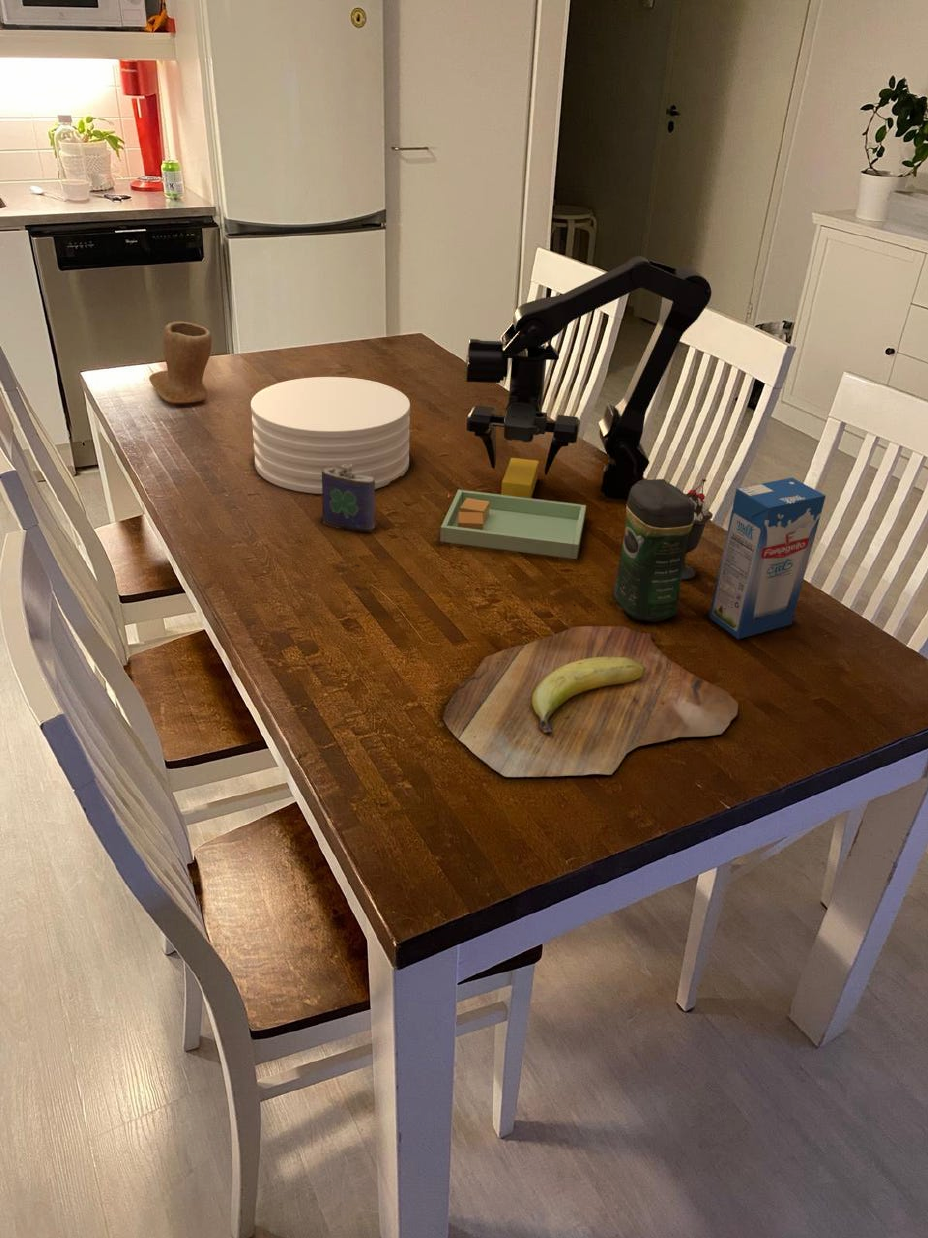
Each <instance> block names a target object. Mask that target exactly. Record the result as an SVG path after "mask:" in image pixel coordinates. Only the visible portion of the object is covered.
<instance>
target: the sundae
mask: <svg viewBox="0 0 928 1238" xmlns="http://www.w3.org/2000/svg"><path fill="white" fill-rule="evenodd" d="M706 481H707V479H706V478H702V479H701V482H700V484H699V486H697V487H696V488H695V489H690V490H689V491H688V492H687V493H685V494H686V495H687V496H688V497H689V498H690V499H691V500H692V501H693V502H694V503H695V512H694V523H693V526H692V529H691V531H690V533H689V536H688V540H687V545H686V551H685V557H684V563H683V569H682V576H681V581H682V580H683V581H684V580H690V579H692V578H694V577H695V576H696V571H695V569H694V568H693V567H691V566H690V565H687V564H686V556H687V554H688V553H691V552H693V551H694V550H696V549H697V547H698V545H699V543H700V541H701V538H702V535H703V532H704V531H705V530H704V529H705V527H706V524H707V523H709V522H710V521H711V520H712V518H713V513H712V512H711V511H709V510H710V509H709V505H708V504H707V502H706V501H705V498H706V496H705V493H704V484H705V482H706ZM700 487H701V492H700V493H697V492H698V491H697V490H698V489H699V488H700Z"/></svg>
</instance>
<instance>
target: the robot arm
mask: <svg viewBox="0 0 928 1238" xmlns="http://www.w3.org/2000/svg"><path fill="white" fill-rule="evenodd" d="M639 289H643V290H646V291H649V292H651V293H653V294H656V295H657V296H660V297H662V298H661V304H660V310H659V311H660V312H659V318H658V322H657V324H656V326H655V328H654V331H653V332H652V335H651V338H650V339H649V341H648V343H647V346H646V348H645V350H644V352H643V355H642V357H641V359H640V361H639V363H638V366H637V368H636V370H635V372H634V374H633V376H632V379H631V380H630V383H629V384H628V387H627V389H626V392H625V394H624V395H623V398H622V399H621V400H620V401H619V402H617V404H616V405H615V406H613V405H612V404H610V403H607V405H606V407H605V412H604V414H603V417H602V418H601V420H599V422H598V423H597V424H598V427H599V433H598V434H599V438H600V441H601V443H602V446H603V448H604V450H605V453H606V455H607V456H608V457H609V458H608V464H606V465H604V469H603V475H602V482H601V492H602V493H603V495H602V497H603V498H604V499H611V500H621V501H628V497H629V493H630V490H631V488H632V487H633V486H634V485H635V484H636V483H637V482H638V481H641V480H644V475H645V472H646V470H647V468H648V467H649V464H650V460H649V458H648V456H647V453H646V452H645V449H644V448H643V445H642V444H641V440H642V437H643V433H644V425H645V418H646V414H647V410H648V409H649V406H650V404H651V402H652V400H653V397H654V396H655V393H656V391H657V389H658V387H659V385H660V383H661V381H662V379H663V377H664V375H665V373H666V371H667V368H668V366H669V364H670V362H671V360H672V358H673V356H674V354H675V352H676V349H677V348H678V345H679V343H680V341H681V339H682V336H683V335H684V334H685V332H686V331H687V330H688V329H690V328H691V326H693V325H694V323H695V322H696V321H698V319H699V317H700V316H701V315H702V313H703V312H704V310H705V309H706V307H707V306H708V304H710V303H709V302H710V300H711V298H712V288H711V285H710V283H709V282H708V279H706V278H705V277H704V276H703V275H702V274H701V273H700V272H699V271H698V270H697V269H695V268H693V267H691V266H683V267H679V268H675V267H673V266H670V265H668V264H664V263H660V262H657V261H652V260H649V259H647V258H646V257H644V256H641V255H638V256H634V257H631V258H630V259H629V260H628V261H627V262H625V263H622V264H620V265H619V266H617V267H615V268H613V269H611V270H609V271H607V272H605V273H603V274H600V275H599V276H597V277H595V278H593V279H590V280H589V281H587V282H584V283H583V284H581V285H578V286H576V287H575V288H572V289H571V290H569V291H566V292H565V293H561V294H558V295H554V296H546V297H542V298H538V299H535V300H531V301H528V302H525V303H523V304H521V305H520V306H519V307H517V308H516V310H515V312H514V315H513V319H512V323H511V324H510V325H509V326H508V327H507V329H506V330H505V331H504V333H502V335H501V336H500V337H499V340H481V339H478V338H469V340H468V346H467V347H468V349H467V354H466V357H465V382H466V383H477V384H478V383H479V384H480V383H483V384H500V383H501V381H502V382H504V379H505V378H507V377H508V372H509V359H511V361H510V362H511V365H510V378H509V390H508V391H509V392H508V403H507V405H506V407H505V409H504V415H502V414H496V408H495V407H492V406H484V405H483V406H482V405H474V407H472V408H471V409H470V412H469V413H468V415H467V419H466V431H468V432H472V433H473V435H474V436H475V437H479V438H480V439H481V440H482V442H483V444H484V446H485V449H486V452H487V455H488V459H489V462H490V467H491V469H495V468H496V464H497V427H499V428H503V438H504V439H505V440H506V441H519V442H523V443H531V442H533V440H534V436H539V435H545V434H546V433H552V435H553V436H552V438H551V441H550V445H549V450H548V454H547V458H546V462H545V466H544V475H545V476H547V475H548V473H549V472H550V468H551V466H552V464H553V462H554V460H555V458H556V456H557V454H558V453H559V451H560V449H561V448H562V447H568V446H569V445H570V444H577V441H578V437H579V433H580V428H581V427H580V426H581V420H580V418H579V417H578V416H573V415H564V414H563V415H562V414H557V416H556V420H548V413H547V412H543V403H544V402H543V401H544V392H545V380H546V371H547V361H558V360H559V359H560V356H559V352H558V351H557V349H556V348H554V347H553V345H552V343H551V340H552V339H553V338H555V337H556V336H558V335H559V334H560V333H561V332H562V331H563V330H564V329H565V328H566V327H567V326H568V325H569V324H571V323H572V322H573V321H575V320H576V319H579V318H581V317H583V316H585V315H587V314H589V313H591V312H593V311H595V310H598V309H600V308H601V307H603V306H605V305H608V304H610V303H612V302H614V301H616V300H618V299H620V298H622V297H625V296H626V295H628V294H630V293H632V292H635V291H637V290H639Z"/></svg>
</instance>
